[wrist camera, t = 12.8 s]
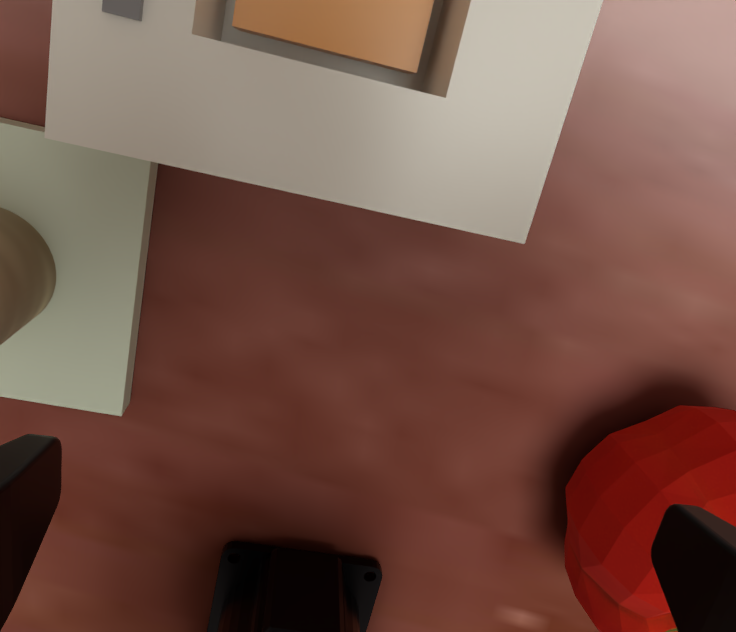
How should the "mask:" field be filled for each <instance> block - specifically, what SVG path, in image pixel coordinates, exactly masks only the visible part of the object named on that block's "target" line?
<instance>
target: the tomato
mask: <svg viewBox="0 0 736 632" xmlns="http://www.w3.org/2000/svg"><path fill="white" fill-rule="evenodd" d="M565 491H566V505H567V518H568V524H567V530H566V537H565V543H564V545H565V568H566V571H567V573H568V576H569V579H570V582H571V585H572V588H573V591H574V594H575V596H576V598H577V599H578V601H579V602H580V604H581V605H582V607H583V608H584V610H585V611H586V613H587V614H588V616H589V617H590V619H591V620H592V622H593V623H594V625H595V626H596V627H597V629H598V630H599V632H678V630H677V628H676V625H675V622H674V620H673V617H672V614H671V612H670V609H669V606H668V604H667V601H666V599H665V596H664V593H663V591H662V588H661V585H660V583H659V580H658V577H657V575H656V572H655V569H654V567H653V564H652V560H651V547H652V543H653V541H654V538H655V536H656V533H657V531H658V528H659V526H660V523H661V521H662V518H663V516H664V513H665V511H666V509H667V508H668V507H669V506H670V505H673V504H685V505H694V506H698V507H701V508H703V509H705V510H706V511H708V512H710V513H712V514H714V515H715V516H717V517H719V518H721V519H722V520H724V521H726V522H728V523H730V524H731V525H733V526H735V527H736V411H734V410H729V409H723V408H717V407H704V406H685V405H679V406H677V407H674V408H672V409H670V410H668V411H666V412H664V413H662V414H659V415H657V416H655V417H653V418H651V419H649V420H646V421H644V422H641V423H638V424H636V425H633V426H630V427H627V428H625V429H622V430H619V431H616V432H614V433H611V434H609V435H608V436H607V437H606V438H605V439H603V440H602V441H601V442H600V443H599V444H598V445H597V446H596V447H595V448H594V449H593V450H591V451H590V452H589V453H588V454H587V455H586V456H585V457H584V458H583V459H582V460H581V462H580V464H579V465H578V467H577V469H576V470H575V472H574V474H573V475H572V477H571V479H570V481H569V482H568V484H567V486H566V487H565Z"/></svg>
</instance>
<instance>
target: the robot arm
mask: <svg viewBox="0 0 736 632" xmlns="http://www.w3.org/2000/svg"><path fill="white" fill-rule="evenodd" d="M61 461H62V448H61V443H60V440H59V439H58V438H57V437H53V436H44V435H35V434H27V435H24V436H22V437H19V438H17V439H15V440H12V441H10V442H8V443H5V444H3V445H1V446H0V630H1V629H2V627H3V625H4V623H5V621H6V620H7V618H8V616H9V614H10V612H11V610H12V608H13V606H14V604H15V602H16V600H17V598H18V596H19V593H20V591H21V589H22V587H23V584H24V582H25V580H26V577H27V575H28V573H29V570H30V568H31V566H32V563H33V561H34V559H35V557H36V554H37V552H38V550H39V547H40V545H41V543H42V540H43V538H44V536H45V533H46V531H47V529H48V526H49V524H50V522H51V519H52V517H53V515H54V512H55V510H56V508H57V505H58V502H59V499H60V494H61ZM231 553H236V554H239V556H232V555H231ZM651 560H652V564H653V567H654V569H655V572H656V575H657V577H658V580H659V583H660V585H661V588H662V591H663V593H664V596H665V599H666V601H667V604H668V606H669V609H670V612H671V614H672V617H673V620H674V622H675V625H676V628H677V630H678V632H736V527H735V526H733V525H731V524H730V523H728V522H726V521H724V520H722V519H721V518H719V517H717V516H715V515H714V514H712V513H710V512H708V511H706V510H705V509H703V508H701V507H698V506H694V505H685V504H673V505H670V506H669V507H668V508H667V509H666V511H665V513H664V516H663V518H662V521H661V523H660V526H659V528H658V531H657V533H656V536H655V538H654V541H653V543H652V547H651ZM367 572H374V573H372V574H365V573H367ZM381 580H382V570H381V566H380V564H379V563H378V562H377V561H374V560H369V559H362V558H355V557H348V556H341V555H333V554H326V553H319V552H312V551H305V550H297V549H290V548H283V547H276V546H269V545H261V544H254V543H247V542H240V541H232V542H229V543H227V544H226V545H225V546H224V548H223V551H222V556H221V561H220V566H219V571H218V577H217V582H216V587H215V592H214V598H213V603H212V608H211V613H210V619H209V624H208V629H207V632H366V630H367V626H368V623H369V620H370V616H371V613H372V610H373V606H374V603H375V600H376V596H377V593H378V590H379V586H380V583H381Z"/></svg>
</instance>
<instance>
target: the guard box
mask: <svg viewBox="0 0 736 632" xmlns="http://www.w3.org/2000/svg"><path fill="white" fill-rule="evenodd" d="M235 1H236V0H53V2H52V19H51V36H50V53H49V70H48V86H47V103H46V120H45V137H44V138H47V139H51V140H56V141H60V142H65V143H69V144H74V145H78V146H83V147H88V148H92V149H97V150H101V151H106V152H110V153H115V154H119V155H124V156H128V157H133V158H137V159H142V160H146V161H151V162H155V163H160V164H164V165H169V166H173V167H178V168H183V169H187V170H192V171H196V172H201V173H205V174H210V175H214V176H219V177H223V178H228V179H232V180H237V181H241V182H246V183H250V184H255V185H259V186H264V187H268V188H273V189H278V190H282V191H287V192H291V193H296V194H300V195H305V196H309V197H314V198H318V199H323V200H327V201H332V202H336V203H341V204H345V205H350V206H354V207H359V208H363V209H368V210H373V211H377V212H382V213H386V214H391V215H395V216H400V217H404V218H409V219H413V220H418V221H422V222H427V223H431V224H436V225H440V226H445V227H449V228H454V229H459V230H463V231H468V232H472V233H477V234H481V235H486V236H490V237H495V238H499V239H504V240H508V241H513V242H517V243H522V244H525V241H526V238H527V235H528V232H529V229H530V226H531V223H532V220H533V217H534V213H535V210H536V207H537V204H538V201H539V198H540V195H541V192H542V189H543V185H544V182H545V179H546V176H547V173H548V170H549V167H550V164H551V161H552V158H553V154H554V151H555V148H556V145H557V142H558V139H559V136H560V133H561V130H562V127H563V123H564V120H565V117H566V114H567V111H568V108H569V105H570V102H571V99H572V95H573V92H574V89H575V86H576V83H577V80H578V77H579V74H580V71H581V68H582V64H583V61H584V58H585V55H586V52H587V49H588V46H589V43H590V40H591V37H592V33H593V30H594V27H595V24H596V21H597V18H598V15H599V12H600V9H601V5H602V2H603V0H434V3H433V8H432V12H431V16H430V20H429V24H428V28H427V32H426V37H425V41H424V45H423V49H422V53H421V57H420V61H419V66H418V70H417V73H414V74H407V73H403V72H399V71H395V70H391V69H387V68H384V67H380V66H376V65H372V64H368V63H364V62H360V61H356V60H352V59H348V58H344V57H340V56H337V55H333V54H329V53H325V52H321V51H317V50H313V49H309V48H305V47H301V46H297V45H293V44H290V43H286V42H282V41H278V40H274V39H270V38H266V37H262V36H258V35H254V34H250V33H246V32H243V31H239V30H237V29H236V28H234V27H233V26H232V21H233V14H234V8H235Z"/></svg>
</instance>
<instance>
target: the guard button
mask: <svg viewBox="0 0 736 632" xmlns="http://www.w3.org/2000/svg"><path fill="white" fill-rule="evenodd" d="M433 3H434V0H236V1H235V8H234V14H233V21H232V26H233V27H234V28H236V29H237V30H239V31H243V32H246V33H250V34H254V35H258V36H262V37H266V38H270V39H274V40H278V41H282V42H286V43H290V44H293V45H297V46H301V47H305V48H309V49H313V50H317V51H321V52H325V53H329V54H333V55H337V56H340V57H344V58H348V59H352V60H356V61H360V62H364V63H368V64H372V65H376V66H380V67H384V68H387V69H391V70H395V71H399V72H403V73H407V74H414V73H417V70H418V66H419V61H420V57H421V53H422V49H423V45H424V41H425V37H426V32H427V28H428V24H429V20H430V16H431V12H432V8H433Z"/></svg>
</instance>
